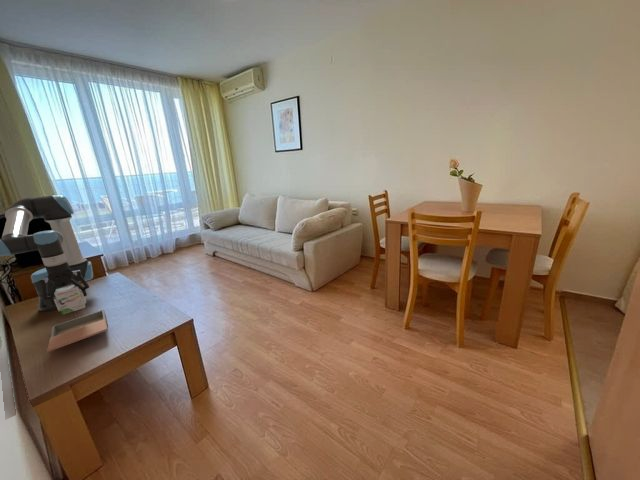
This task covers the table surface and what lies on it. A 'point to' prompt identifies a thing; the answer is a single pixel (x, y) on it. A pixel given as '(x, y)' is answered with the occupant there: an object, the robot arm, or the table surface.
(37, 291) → the robot arm
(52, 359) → the table surface
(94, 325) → the lid
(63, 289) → the ink box
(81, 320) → the box
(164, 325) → the table surface
